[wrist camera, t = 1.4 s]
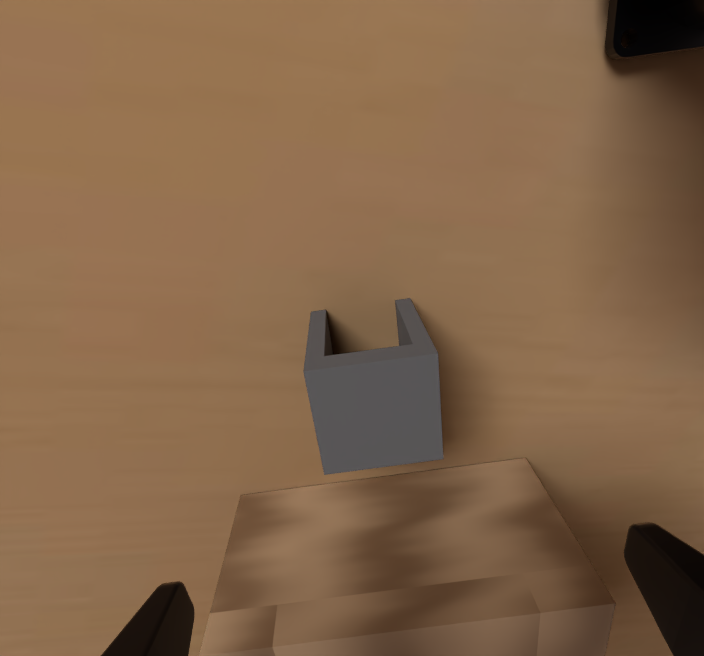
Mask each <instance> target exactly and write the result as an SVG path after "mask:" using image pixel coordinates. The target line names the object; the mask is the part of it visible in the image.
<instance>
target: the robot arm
mask: <svg viewBox="0 0 704 656" xmlns="http://www.w3.org/2000/svg"><path fill="white" fill-rule="evenodd" d="M624 32H626V33H627V34H628V35H629V42H628V45H627V46H626V47H625V48H624V47H623V46H622V44H621V37H622V34H623V33H624ZM605 47H606V52H607V54H608V56H609V57H611V58H612V59H617V60H620V59H627V58H634V57H641V56H648V55H656V54H663V53H670V52H677V51H684V50H691V49H698V48H704V0H610V1H609V11H608V21H607V31H606V41H605ZM624 557H625V561H626V564H627V566H628V568H629V570H630V572H631V574H632V576H633V578H634V580H635V582H636V584H637V586H638V588H639V590H640V591H641V593H642V595H643V597H644V599H645V601H646V603H647V605H648V607H649V609H650V611H651V613H652V615H653V617H654V619H655V621H656V623H657V625H658V627H659V629H660V631H661V633H662V635H663V637H664V639H665V641H666V642H667V644H668V646H669V648H670V650H671V652H672V653H673V655H674V656H704V555H703V554H702V553H700V552H699V551H697V550H696V549H694V548H693V547H691V546H689V545H688V544H686V543H685V542H683V541H682V540H680V539H679V538H677V537H675V536H674V535H672V534H671V533H669V532H668V531H666V530H665V529H663V528H661V527H660V526H658V525H656V524H654V523H650V522H647V523H639V524H633V525H631V526H630V527H629V530H628V535H627V539H626V544H625V549H624ZM193 623H194V606H193V604H192V601H191V599H190V597H189V595H188V592H187V590H186V588H185V586H184V584H183V583H182V582H180V581H178V582H170V583H164V584H161V585H160V586H159V587H157V589H156V590H155V591H154V592H153V593H152V595H151V596H150V597H149V598H148V599H147V601H146V602H145V603H144V604H143V605H142V607H141V608H140V609H139V610H138V611H137V613H136V614H135V615H134V616H133V618H132V619H131V620H130V621H129V622H128V624H127V625H126V626H125V627H124V628H123V630H122V631H121V632H120V633H119V634H118V636H117V637H116V638H115V639H114V641H113V642H112V643H111V644H110V645H109V647H108V648H107V649H106V650H105V651H104V653H103V654H102V655H101V656H188V654H189V647H190V641H191V635H192V629H193Z"/></svg>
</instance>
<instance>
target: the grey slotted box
mask: <svg viewBox="0 0 704 656" xmlns="http://www.w3.org/2000/svg"><path fill="white" fill-rule="evenodd" d="M395 304H396V315H397V326H398V337H399V346H396V347H388V348H381V349H374V350H366V351H359V352H351V353H344V354H337V355H333V350H332V344H331V338H330V332H329V326H328V320H327V314H326V310H320V311H313V312H311V316H310V324H309V332H308V340H307V348H306V356H305V364H304V376H305V381H306V386H307V391H308V396H309V401H310V406H311V411H312V416H313V421H314V426H315V431H316V436H317V441H318V445H319V450H320V455H321V460H322V465H323V470H324V475H326V474H334V473H341V472H349V471H357V470H364V469H372V468H379V467H387V466H395V465H402V464H410V463H417V462H425V461H433V460H440V459H443V442H442V422H441V402H440V382H439V361H438V352H437V350H436V348H435V346H434V344H433V342H432V340H431V338H430V336H429V335H428V333H427V331H426V329H425V327H424V325H423V323H422V321H421V319H420V317H419V315H418V313H417V311H416V309H415V307H414V305H413V303H412V301H411V299H410V298H408V299H401V300H395Z"/></svg>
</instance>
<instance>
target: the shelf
mask: <svg viewBox="0 0 704 656" xmlns="http://www.w3.org/2000/svg"><path fill="white" fill-rule="evenodd" d="M615 605H616V603H615V601H614V600H613V598H612V597H611V595H610V593H609V592H608V590H607V589H606V587H605V585H604V584H603V582H602V580H601V579H600V577H599V576H598V574H597V572H596V571H595V569H594V568H593V566H592V564H591V563H590V561H589V559H588V558H587V556H586V555H585V553H584V551H583V550H582V548H581V547H580V545H579V543H578V542H577V540H576V538H575V537H574V535H573V534H572V532H571V530H570V529H569V527H568V526H567V524H566V522H565V521H564V519H563V517H562V516H561V514H560V513H559V511H558V509H557V508H556V506H555V505H554V503H553V501H552V500H551V498H550V496H549V495H548V493H547V492H546V490H545V488H544V487H543V485H542V484H541V482H540V480H539V479H538V477H537V475H536V474H535V472H534V471H533V469H532V467H531V466H530V464H529V463H528V461H527V459H526V458H521V459H513V460H505V461H498V462H490V463H483V464H475V465H467V466H460V467H452V468H445V469H437V470H429V471H422V472H414V473H406V474H399V475H391V476H384V477H376V478H368V479H361V480H353V481H346V482H338V483H330V484H323V485H315V486H308V487H300V488H292V489H285V490H277V491H270V492H262V493H254V494H247V495H241V496H240V500H239V504H238V507H237V511H236V515H235V519H234V523H233V526H232V530H231V534H230V538H229V542H228V546H227V549H226V553H225V557H224V561H223V565H222V569H221V572H220V576H219V580H218V584H217V588H216V592H215V595H214V599H213V603H212V607H211V611H210V615H209V618H208V622H207V626H206V630H205V634H204V638H203V641H202V645H201V649H200V653H199V656H605V654H606V649H607V644H608V639H609V634H610V629H611V624H612V619H613V614H614V610H615Z"/></svg>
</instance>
